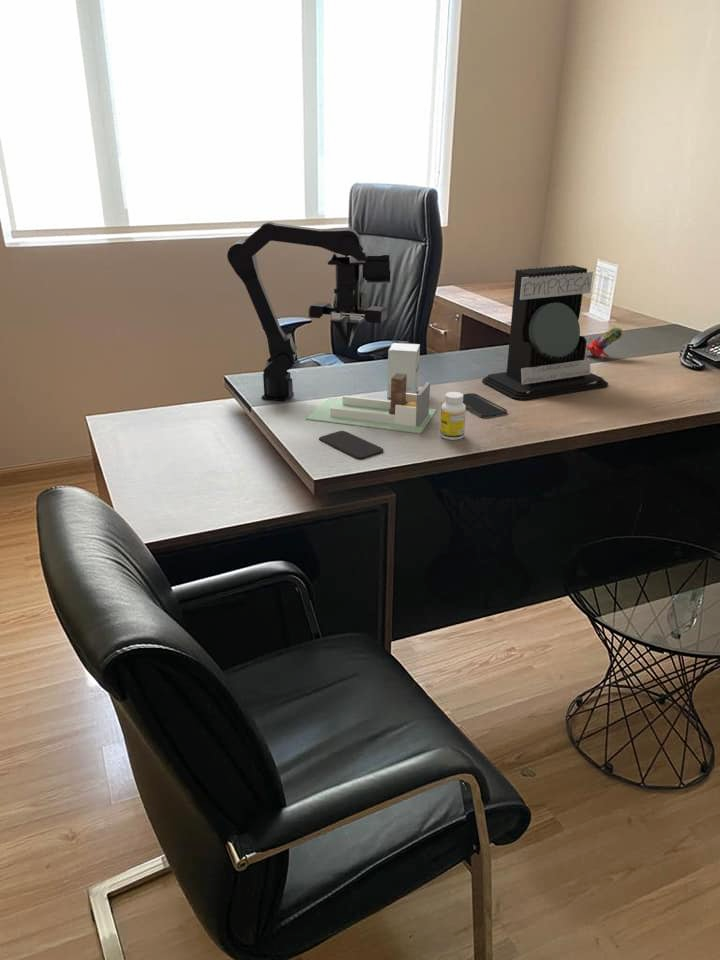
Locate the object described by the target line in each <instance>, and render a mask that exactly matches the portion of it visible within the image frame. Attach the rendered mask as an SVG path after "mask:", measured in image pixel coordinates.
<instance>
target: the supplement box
mask: <svg viewBox="0 0 720 960" xmlns="http://www.w3.org/2000/svg"><path fill="white" fill-rule="evenodd" d="M420 350H421V344H419V343H401V342H400V343H399V342H398V343H396V342H395V343H392V344H391V346H390V347H389V348H388V351H387V352H388V353H387V354H388V356H387V389H386V390H387V391H386V392H387V393H386V398H390V399H391V378H392V377H393V376H394V375H395V374H396V373H400V374H407V381H406V393H413V394H418V392H419V376H420V374H419V373H420V355H421V354H420V352H421V351H420Z"/></svg>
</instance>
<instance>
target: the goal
mask: <svg viewBox="0 0 720 960" xmlns="http://www.w3.org/2000/svg"><path fill="white" fill-rule="evenodd" d="M430 391H431V382H428V381H427V382H425V384H424V385H423V387H422V388H421V389H420V390H418V392H417V393H416V394H413V393H406V401H407V403H408V402H415V403H417V404H416V407H413V406H404V405H395V424H399V425H407V426H416V427H419V426H420V425H421V423H422V422H423V421H424V419H425V418H426V416H427V415H428V413H429V408H430V397H431V396H430Z"/></svg>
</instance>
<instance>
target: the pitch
mask: <svg viewBox="0 0 720 960" xmlns="http://www.w3.org/2000/svg"><path fill="white" fill-rule="evenodd" d="M390 407H391V400H385V399H378V398H377V399H376V398H367V397H358V396H352V395H351V396H350V395H342V398H340V397H333V396H332V397H331V396H329V397H328V398H327V399H325V400H324V401H323V402H322V403H321V404H320V405H319V406H317V408H316V409H314V410H313V411H312V412H310V414H309V415H308V416H307V417H305V420H307V421H314V422H315V421H316V422H317V421H318V422H323V423H324V422H325V423H330V424H331V423H332V424H340V425H346V426H356V427H364V428H365V427H366V428H370V429H371V428H372V429H379V430H387V431H396V432H402V433H405V432H406V433H412V434H419V435H421V434H422V432H423V431H424V430H425V428H426V426H427V425H428V424H429V422H430V421H431V420H432V417H433V416H434V415H435V413H436V412H437V408H430V407H429V413H428V415H427V416H426V418H425V419H424V421H423V422H422V423H421V425H420V426H419V427H416V426H407V425H399V424H395V415H394V414H389V409H390Z"/></svg>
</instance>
